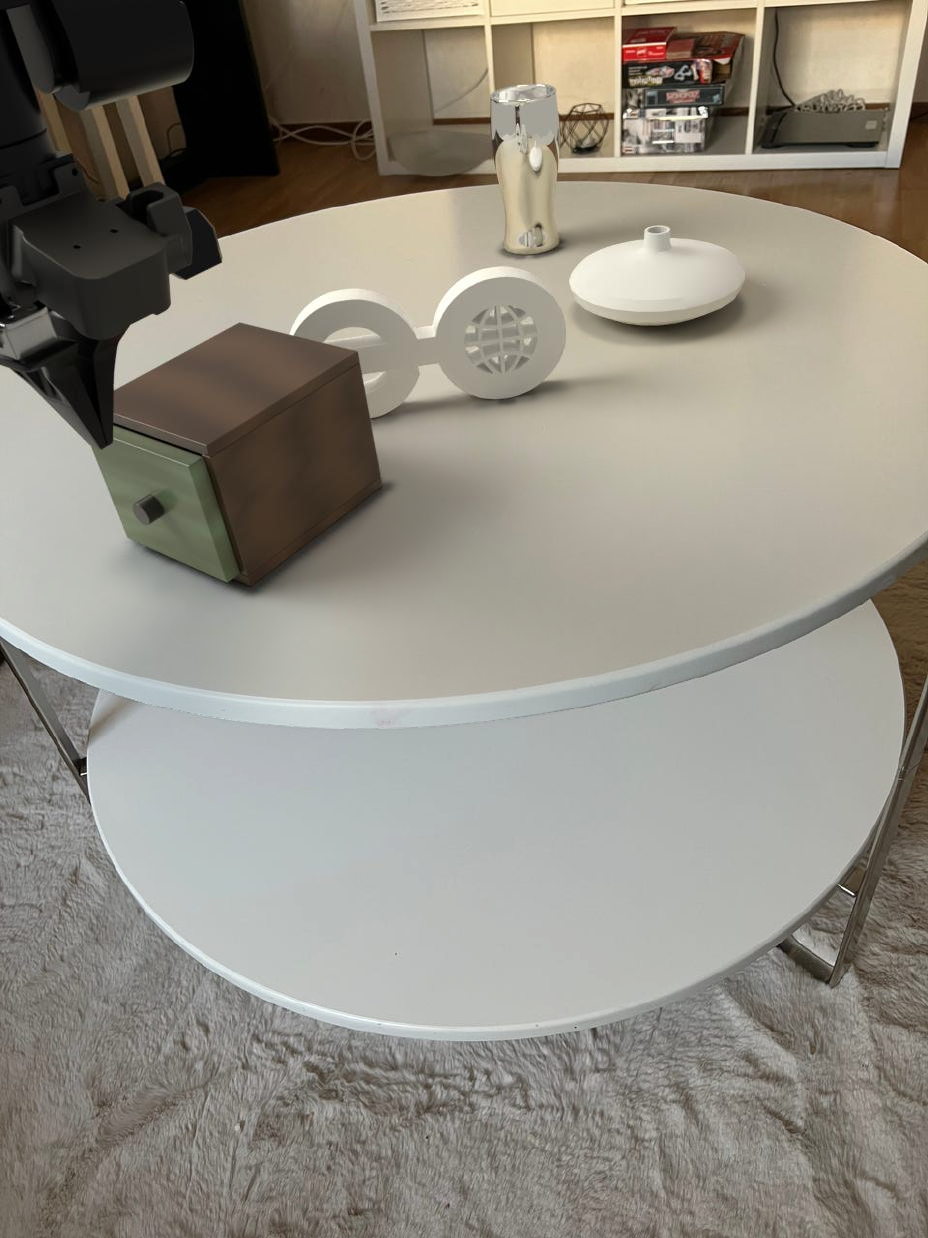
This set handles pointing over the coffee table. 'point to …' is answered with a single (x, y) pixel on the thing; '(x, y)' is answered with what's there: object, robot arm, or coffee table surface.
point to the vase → (657, 279)
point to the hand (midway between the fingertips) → (102, 445)
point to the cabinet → (264, 434)
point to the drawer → (167, 501)
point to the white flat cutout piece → (448, 336)
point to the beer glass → (527, 164)
